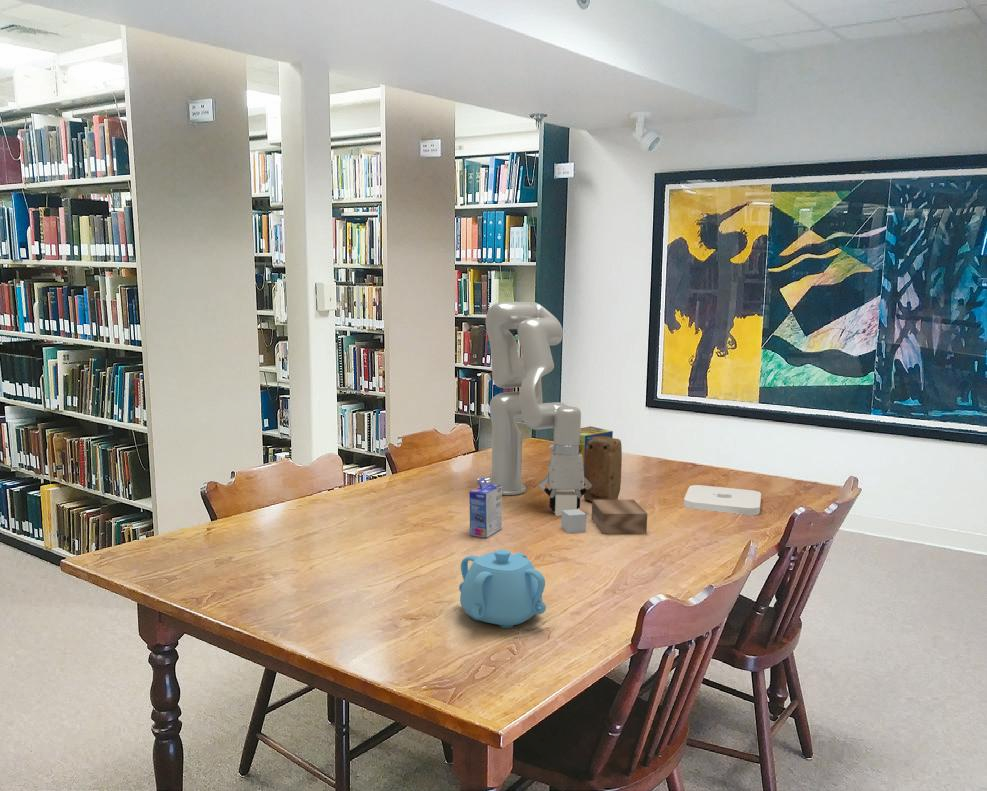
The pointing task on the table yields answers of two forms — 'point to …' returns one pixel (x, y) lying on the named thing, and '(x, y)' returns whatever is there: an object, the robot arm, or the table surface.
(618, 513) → the walnut block
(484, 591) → the decorative pot
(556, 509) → the cream block
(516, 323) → the robot arm
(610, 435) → the protein box
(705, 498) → the computer
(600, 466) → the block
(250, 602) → the table surface
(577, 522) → the grey block
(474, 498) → the ink cartridge box
